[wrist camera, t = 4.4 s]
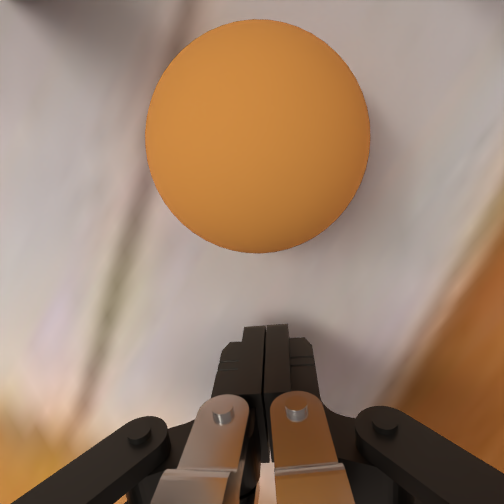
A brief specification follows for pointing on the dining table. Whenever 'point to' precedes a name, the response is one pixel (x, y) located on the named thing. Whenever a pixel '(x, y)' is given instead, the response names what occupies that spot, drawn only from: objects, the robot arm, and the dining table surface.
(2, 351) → the dining table surface
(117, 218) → the dining table surface
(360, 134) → the ball
